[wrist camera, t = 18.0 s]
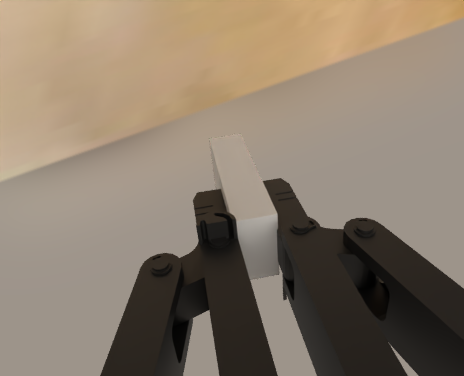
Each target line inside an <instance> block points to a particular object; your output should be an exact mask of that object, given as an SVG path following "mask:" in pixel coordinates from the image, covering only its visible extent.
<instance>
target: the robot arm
mask: <svg viewBox="0 0 464 376" xmlns="http://www.w3.org/2000/svg"><path fill="white" fill-rule="evenodd" d="M209 141H210V149H211V156H212V164H213V172H214V180H215V188H216V190H211V191H204V192H199V193H197V194H196V196H195V198H194V200H193V203H194V210H195V216H196V223H197V225H196V227H197V233H198V239H199V242H198V245H197V246H196V248H195V249H194V250H193V251H192V252H191V253H189V254H187V255H185V256H183V257H181V258H178V257H177V256H175V255H173V254H168V253H163V254H157V255H155V256H152V257H150V258H149V259H147V260H146V261H145V262H144V263H143V265H142V266H141V268H140V271H139V274H138V276H137V279H136V282H135V284H134V287H133V290H132V293H131V295H130V298H129V300H128V303H127V306H126V309H125V311H124V314H123V316H122V319H121V322H120V324H119V327H118V330H117V333H116V335H115V338H114V341H113V343H112V346H111V349H110V351H109V354H108V357H107V359H106V362H105V365H104V367H103V370H102V373H101V375H100V376H183V372H184V367H185V362H186V356H187V351H188V345H189V339H190V335H191V329H192V324H193V318H194V317H196V316H198V315H200V314H202V313H204V312H206V311H208V310H210V317H211V323H212V330H213V336H214V343H215V350H216V356H217V362H218V369H219V375H220V376H278V375H277V372H276V368H275V365H274V361H273V358H272V354H271V351H270V348H269V344H268V341H267V337H266V334H265V330H264V327H263V323H262V320H261V316H260V313H259V310H258V306H257V302H256V299H255V296H254V292H253V289H252V285H251V282H250V280H252V279H257V278H263V277H268V276H274V275H279V265H280V268H281V270H282V273H283V299H284V300H286V299H287V296H288V299H289V302H290V304H291V307H292V310H293V312H294V315H295V318H296V321H297V323H298V326H299V329H300V331H301V334H302V336H303V339H304V342H305V345H306V347H307V350H308V353H309V355H310V358H311V360H312V363H313V366H314V368H315V371H316V374H317V376H407V374H406V372H405V370H404V369H403V367H402V365H401V363H400V362H399V360H398V358H397V357H396V355H395V353H394V351H393V350H392V348H391V346H392V347H393V348H394V349H395V350H396V351H397V352H398V353H399V354H400V356H401V357H402V358H403V359H404V360H405V361H406V362H407V363H408V364H409V366H410V367H411V368H412V369H413V370H414V371H415V372H416V373H417V374H418V375H419V376H464V289H463V288H462V287H461V286H460V285H458V284H457V283H456V282H455V281H453V280H452V279H451V278H449V277H448V276H447V275H445V274H444V273H443V272H442V271H440V270H439V269H438V268H437V267H435V266H434V265H433V264H431V263H430V262H429V261H428V260H426V259H425V258H424V257H422V256H421V255H420V254H418V253H417V252H416V251H415V250H413V249H412V248H411V247H409V246H408V245H407V244H405V243H404V242H403V241H402V240H401V239H399V238H398V237H397V236H395V235H394V234H393V233H392V232H390V231H389V230H388V229H386V228H385V227H384V226H383V225H381V224H379V223H378V222H376V221H375V220H371V219H368V218H356V219H351V220H350V221H348V222H346V224H345V226H344V229H328V228H323V227H320V225H319V224H318V222H316V221H315V220H314V219H312V218H310V217H308V216H307V215H306V213H305V211H304V209H303V208H302V206H301V204H300V202H299V200H298V199H297V198H296V195H295V193H294V192H293V190H292V188H291V186H290V184H289V183H287V182H286V181H284V180H283V179H281V178H279V179H273V180H267V181H262V179H261V177H260V175H259V172H258V170H257V168H256V166H255V164H254V162H253V159H252V157H251V155H250V153H249V151H248V148H247V146H246V144H245V142H244V140H243V137H242V135H241V134H236V135H229V136H222V137H216V138H209ZM286 295H287V296H286ZM388 342H389V343H388ZM389 344H390V345H391V346H390V345H389Z"/></svg>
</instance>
